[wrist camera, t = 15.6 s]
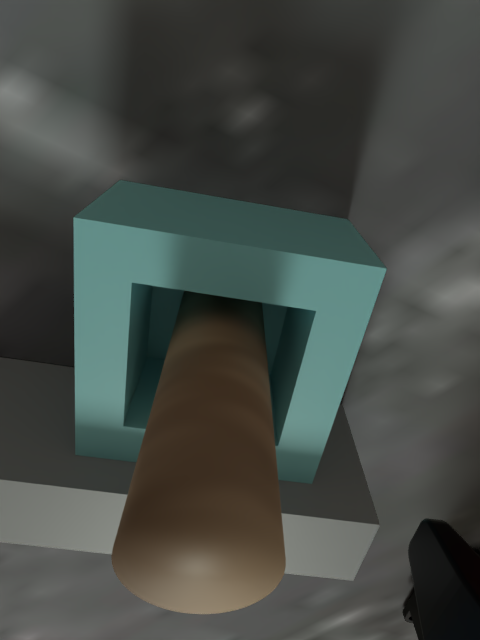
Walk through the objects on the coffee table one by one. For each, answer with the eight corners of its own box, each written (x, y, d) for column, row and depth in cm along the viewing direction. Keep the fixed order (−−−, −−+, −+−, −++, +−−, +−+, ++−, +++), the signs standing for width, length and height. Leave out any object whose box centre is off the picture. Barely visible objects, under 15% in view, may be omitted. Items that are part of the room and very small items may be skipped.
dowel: (269, 276, 16) (303, 517, 7) (254, 346, 17) (267, 620, 8) (185, 263, 16) (113, 495, 7) (177, 335, 17) (109, 605, 8)
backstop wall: (342, 405, 19) (379, 525, 14) (324, 454, 21) (353, 580, 16) (-84, 345, 18) (-218, 453, 13) (-72, 402, 20) (-189, 521, 14)
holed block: (346, 217, 16) (386, 268, 11) (296, 393, 20) (312, 484, 15) (121, 178, 15) (73, 217, 11) (113, 368, 19) (75, 454, 15)
